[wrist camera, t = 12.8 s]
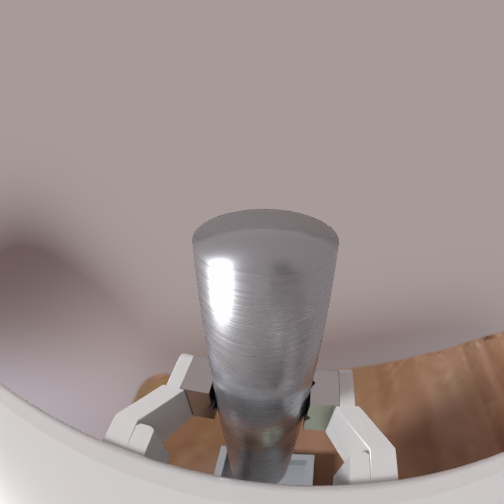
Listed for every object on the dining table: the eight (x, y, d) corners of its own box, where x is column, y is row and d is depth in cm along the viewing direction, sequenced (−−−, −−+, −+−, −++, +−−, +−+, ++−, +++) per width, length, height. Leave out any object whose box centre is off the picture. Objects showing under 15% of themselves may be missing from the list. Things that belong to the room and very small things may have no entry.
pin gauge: (290, 444, 14) (331, 213, 8) (284, 491, 11) (348, 278, 5) (236, 439, 15) (214, 206, 8) (225, 484, 12) (168, 265, 5)
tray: (311, 462, 21) (314, 454, 20) (303, 538, 14) (306, 536, 13) (223, 453, 22) (221, 445, 21) (204, 526, 15) (200, 524, 14)
